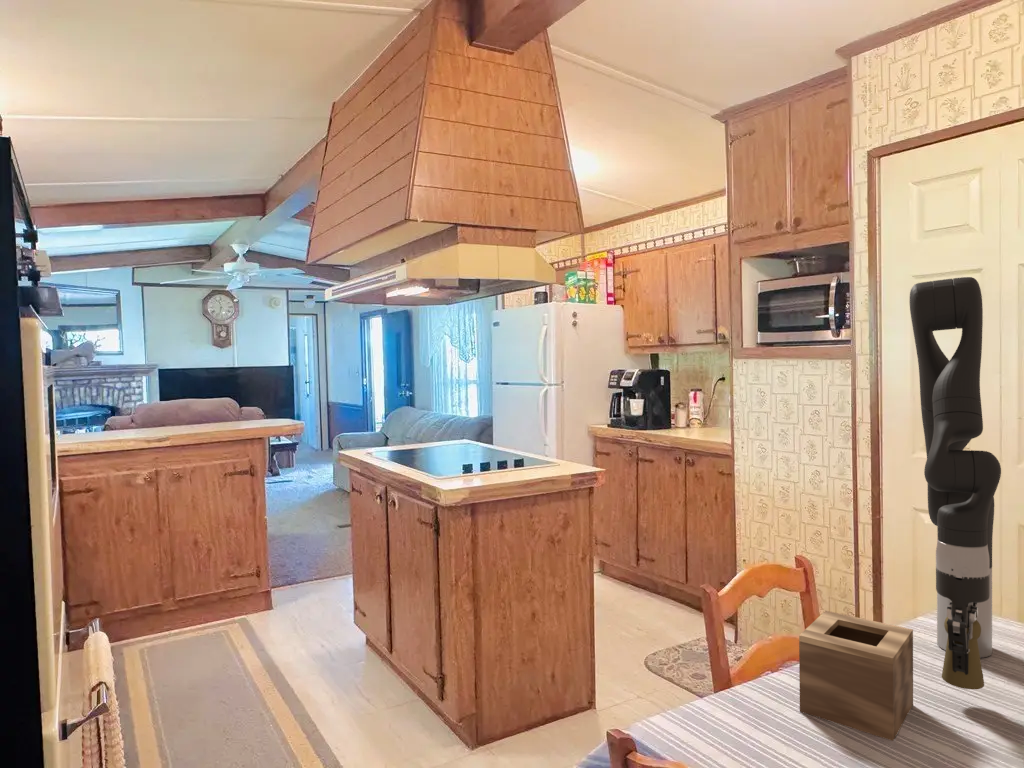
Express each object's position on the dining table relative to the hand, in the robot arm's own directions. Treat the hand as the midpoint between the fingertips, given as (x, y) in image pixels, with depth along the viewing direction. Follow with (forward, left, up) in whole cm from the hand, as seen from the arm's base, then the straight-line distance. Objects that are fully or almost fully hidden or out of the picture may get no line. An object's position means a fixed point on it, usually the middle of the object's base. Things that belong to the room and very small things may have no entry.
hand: (962, 667), depth 114 cm
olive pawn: (0, 0, -3) cm, 3 cm away
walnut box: (+12, -13, -6) cm, 19 cm away
